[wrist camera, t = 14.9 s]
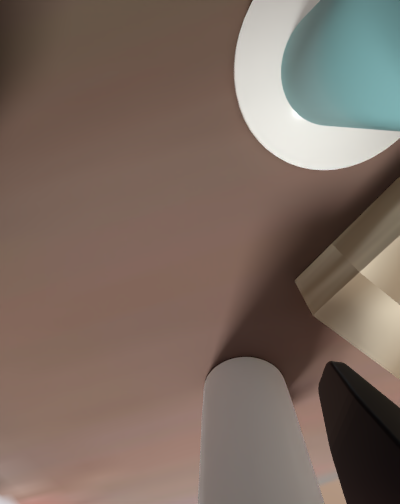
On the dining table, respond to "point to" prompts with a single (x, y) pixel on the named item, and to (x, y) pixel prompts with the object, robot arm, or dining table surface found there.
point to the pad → (274, 100)
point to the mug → (252, 439)
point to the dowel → (346, 65)
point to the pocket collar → (362, 282)
